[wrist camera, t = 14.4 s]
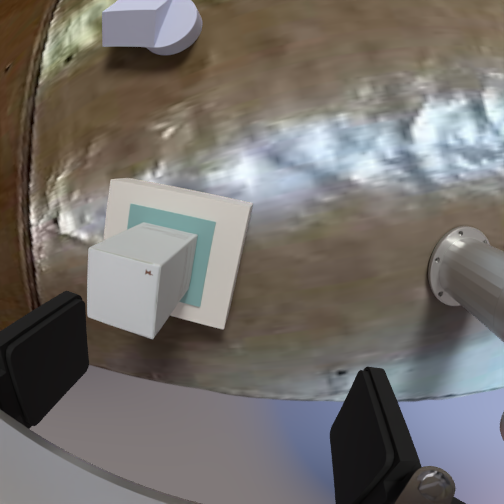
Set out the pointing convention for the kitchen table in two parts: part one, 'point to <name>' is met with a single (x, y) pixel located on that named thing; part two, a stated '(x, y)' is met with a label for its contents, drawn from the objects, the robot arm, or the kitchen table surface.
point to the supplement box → (139, 277)
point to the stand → (192, 221)
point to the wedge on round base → (151, 25)
